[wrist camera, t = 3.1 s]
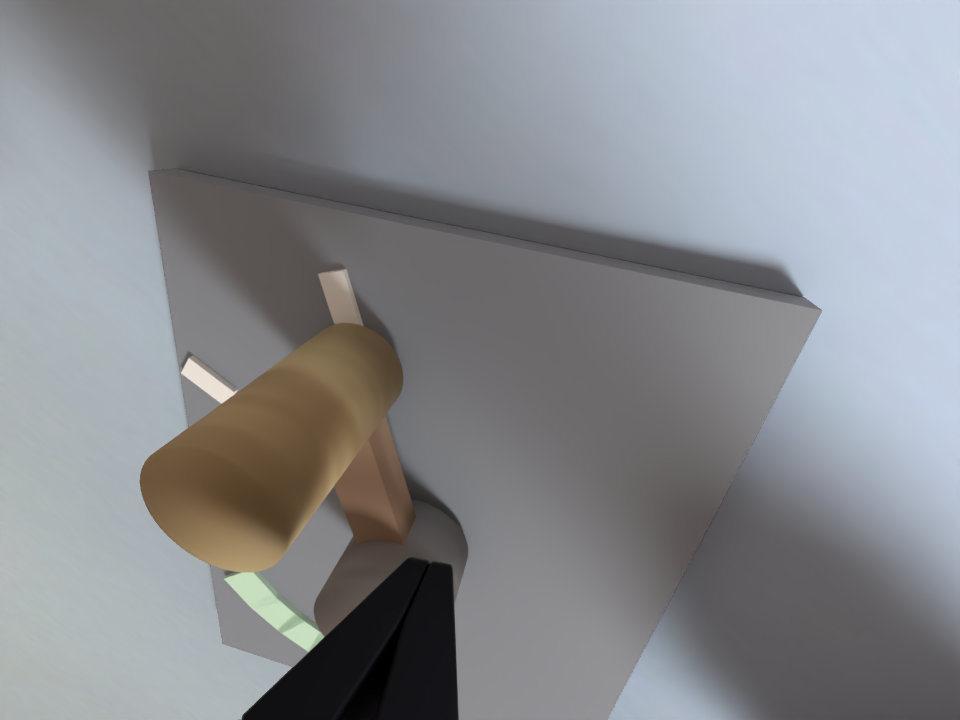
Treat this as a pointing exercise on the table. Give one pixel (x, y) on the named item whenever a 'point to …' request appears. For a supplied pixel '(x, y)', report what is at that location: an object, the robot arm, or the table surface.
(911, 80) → the table surface
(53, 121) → the table surface
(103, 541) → the table surface
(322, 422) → the peg lever
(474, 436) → the dial board
